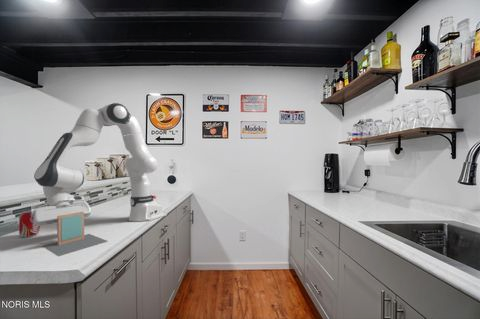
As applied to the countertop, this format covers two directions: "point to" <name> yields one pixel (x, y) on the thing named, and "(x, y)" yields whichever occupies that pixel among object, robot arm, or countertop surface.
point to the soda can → (27, 225)
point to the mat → (74, 245)
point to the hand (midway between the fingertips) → (68, 227)
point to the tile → (70, 227)
